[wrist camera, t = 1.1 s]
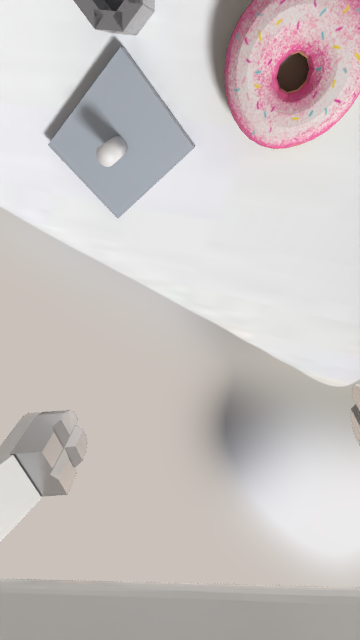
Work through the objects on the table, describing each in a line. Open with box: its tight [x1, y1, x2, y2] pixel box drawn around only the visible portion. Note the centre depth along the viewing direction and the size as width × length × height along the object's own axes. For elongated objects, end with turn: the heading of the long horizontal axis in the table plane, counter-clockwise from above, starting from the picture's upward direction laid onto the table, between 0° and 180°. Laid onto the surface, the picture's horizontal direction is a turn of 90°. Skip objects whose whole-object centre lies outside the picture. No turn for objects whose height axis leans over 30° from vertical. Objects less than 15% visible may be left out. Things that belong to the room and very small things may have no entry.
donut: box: [224, 0, 360, 149], centre depth 30 cm, size 14×13×5 cm
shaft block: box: [48, 47, 195, 218], centre depth 36 cm, size 14×12×6 cm
